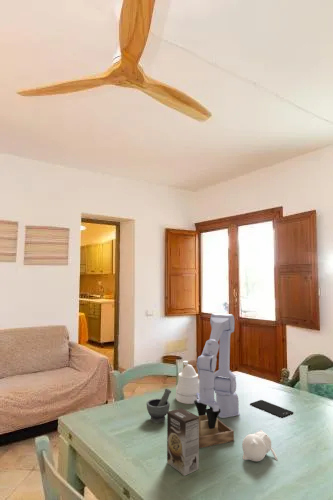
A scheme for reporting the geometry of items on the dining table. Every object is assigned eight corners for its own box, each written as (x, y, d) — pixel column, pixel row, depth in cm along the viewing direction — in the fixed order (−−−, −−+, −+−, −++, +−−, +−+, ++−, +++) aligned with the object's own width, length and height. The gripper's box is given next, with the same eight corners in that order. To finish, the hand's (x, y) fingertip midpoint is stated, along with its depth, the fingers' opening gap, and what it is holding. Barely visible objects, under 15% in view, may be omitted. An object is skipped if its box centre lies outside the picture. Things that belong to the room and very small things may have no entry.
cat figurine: (262, 421, 115) (245, 431, 106) (287, 447, 108) (271, 460, 99) (250, 438, 117) (233, 450, 108) (274, 465, 110) (257, 480, 102)
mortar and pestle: (152, 426, 131) (153, 396, 132) (142, 418, 139) (142, 389, 140) (176, 420, 136) (176, 391, 137) (165, 412, 144) (165, 385, 145)
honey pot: (171, 400, 159) (171, 362, 161) (183, 392, 170) (183, 357, 172) (194, 405, 152) (194, 366, 154) (206, 397, 163) (205, 360, 165)
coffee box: (166, 463, 105) (166, 411, 106) (181, 456, 109) (181, 406, 110) (184, 476, 98) (184, 421, 99) (199, 469, 102) (199, 415, 103)
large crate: (214, 424, 133) (214, 415, 133) (234, 441, 119) (233, 431, 120) (181, 430, 127) (181, 421, 128) (198, 448, 114) (198, 438, 114)
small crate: (211, 429, 127) (211, 413, 127) (217, 435, 122) (217, 418, 123) (195, 432, 124) (195, 416, 125) (201, 438, 120) (201, 421, 120)
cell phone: (281, 419, 139) (281, 417, 139) (249, 405, 154) (249, 403, 154) (294, 414, 144) (294, 412, 144) (261, 401, 159) (261, 399, 159)
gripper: (189, 382, 130) (189, 417, 129) (206, 394, 117) (206, 434, 116) (204, 380, 133) (204, 415, 132) (223, 392, 119) (223, 430, 118)
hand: (206, 423), depth 124 cm, fingers open, 7 cm apart
